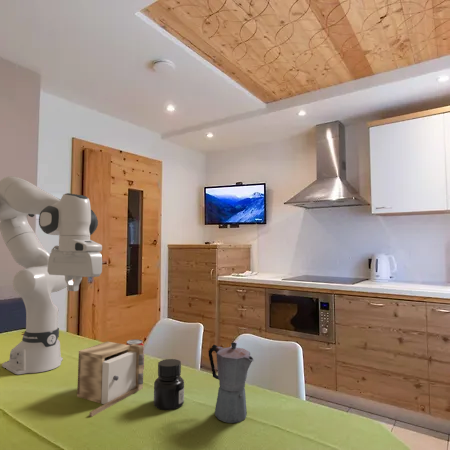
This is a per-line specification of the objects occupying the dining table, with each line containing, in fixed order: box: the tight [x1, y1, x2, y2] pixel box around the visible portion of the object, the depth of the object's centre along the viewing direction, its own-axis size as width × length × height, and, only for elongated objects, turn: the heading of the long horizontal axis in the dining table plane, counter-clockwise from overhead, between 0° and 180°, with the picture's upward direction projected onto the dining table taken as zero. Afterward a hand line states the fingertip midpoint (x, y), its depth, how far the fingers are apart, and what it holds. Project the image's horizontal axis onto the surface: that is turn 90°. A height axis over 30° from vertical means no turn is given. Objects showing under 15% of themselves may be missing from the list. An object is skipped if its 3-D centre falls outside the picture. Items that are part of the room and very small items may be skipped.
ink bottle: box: [153, 358, 185, 411], centre depth 100 cm, size 10×9×12 cm
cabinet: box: [76, 341, 145, 418], centre depth 104 cm, size 15×21×14 cm
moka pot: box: [208, 342, 255, 424], centre depth 94 cm, size 10×15×20 cm, turn 58°
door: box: [100, 351, 136, 405], centre depth 104 cm, size 3×12×12 cm, turn 154°
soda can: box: [125, 339, 145, 371], centre depth 123 cm, size 7×7×12 cm
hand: (72, 290), depth 102 cm, fingers closed
